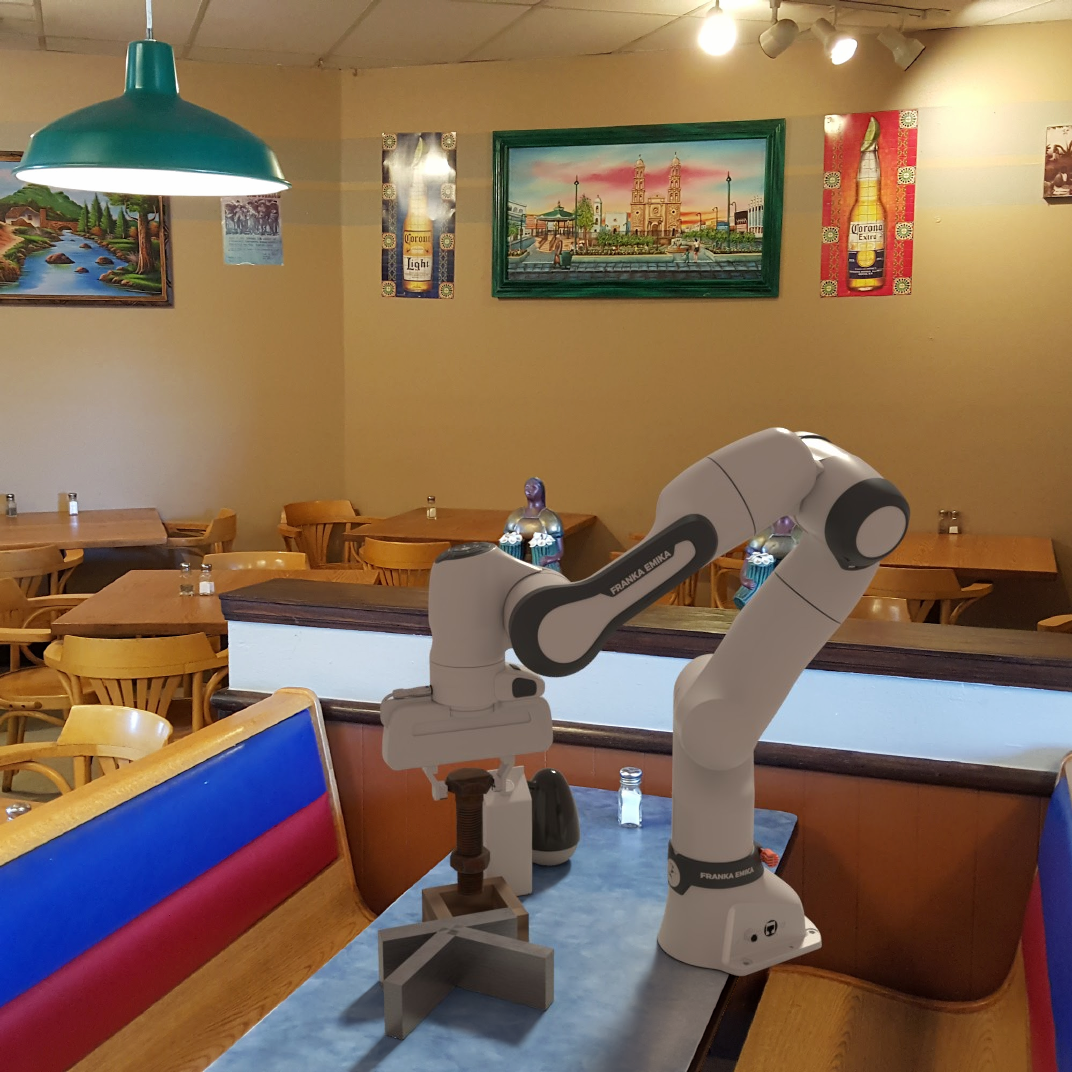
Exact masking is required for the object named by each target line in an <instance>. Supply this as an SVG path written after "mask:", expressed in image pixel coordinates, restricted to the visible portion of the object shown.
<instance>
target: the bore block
mask: <svg viewBox="0 0 1072 1072" xmlns="http://www.w3.org/2000/svg"><path fill="white" fill-rule="evenodd" d="M457 883H458V882H457ZM457 883H451V884H444V885H439V886H432V887H426V888H422V889H421V917H422V922H427V921H433V920H439V919H445V918H450V917H456V916H462V915H468V914H473V913H479V912H485V911H491V910H496V909H502V908H508V907H510V908H511V909H512V910H513V912H514V913H515V915H516V916H517V940H521V941H525V942H529V943H530V913H529V912H528V911H527V910H526V908H525V906H524V905H523V904H522V902H521V900H520V899H519V897H518V896H516V895H515V894H514V892H513V891H512V890H511V888H510V887H509V885H508V884H507V883H506V881H505V880H504V878H503V877H502V876H499V877H492V878H486V879H484V888H483V889H484V891H483V892H482V894H481V895H480V896H477V897H472V898H468V897H463V896H461V895H459V894H458V892H457V891H458V890H457Z"/></svg>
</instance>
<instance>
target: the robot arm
mask: <svg viewBox="0 0 1072 1072" xmlns="http://www.w3.org/2000/svg"><path fill="white" fill-rule="evenodd" d="M655 509H656V510H655V520H654V521H653V522H654V523H653V525H652V527H651V529H650V531H649V532H648V534H647V535H646V536H645V537H644V538H643V539H641V541H640V542H638V543H637V544H636V545H634V546H632V547H631V548H630V549H628V550H626V551H625V552H623V553H622V554H621V555H619V556H618V557H617V558H615V559H613V560H612V561H611V562H609V563H608V564H606V565H605V566H603V567H602V568H600V569H599V570H597V571H596V572H594V573H593V574H592V575H590V576H588V577H586V578H584V579H581V580H577V581H573V582H571V581H570V580H569V579H568V578H567V577H566V576H564V574H562V573H561V572H558V571H557V570H555V569H553V568H548V567H544V566H541V565H536V564H534V563H533V564H532V563H529V562H527V561H524V560H521V559H519V558H516V557H515V556H513V555H511V554H509V553H508V552H506V551H504V550H503V549H501V548H499V547H498V545H496V544H495V543H492V542H487V541H480V542H477V541H476V542H467V543H463V544H459V545H454V546H452V547H450V548H448V549H445V550H444V551H442V552H441V553H440V554H439V555H438V556H437V557H436V558H435V560H434V562H433V563H432V567H431V570H430V576H429V584H428V609H427V610H428V624H429V628H430V631H431V636H432V640H431V641H432V642H431V647H430V650H429V663H428V665H429V685H422V686H415V687H410V688H403V687H402V688H396V689H393V690H392V692H391V693H389V694H387V695H385V696H384V698H383V699H382V700H381V702H380V707H379V712H380V715H379V717H380V721H381V724H382V725H383V732H382V740H381V741H382V742H381V743H382V744H381V754H382V758H383V760H384V763H386V765H387V766H388V767H389V768H391V770H393V771H403V770H410V769H420V768H421V770H422V771H423V772H424V775H426V778H427V779H428V780H429V782H430V783H431V795H432V798H433V800H434V801H441V800H442V801H443V800H447V799H448V795H449V794H448V787H447V785H446V784H445V780H437V778H436V777H435V775H437V774H438V773H439V766H441V765H450V764H458V763H464V762H465V763H466V762H474V761H481V760H487V759H488V760H489V759H490V760H491V759H497V758H499V760H500V761H501V763H500V765H499V767H498V768H497V769H498V771H497V773H495V774H491V775H492V776H493V785H492V786H491V790H493V792H501V791H506V778H507V777H508V775H509V773H510V771H511V770H512V768H513V767H515V764H516V756H518V755H520V756H521V755H527V754H535V753H536V754H537V753H543V752H547V751H548V750H549V749H550V747H551V745H552V744H553V742H554V728H553V719H552V711H551V707H550V706H551V705H550V704H549V702H548V700H547V699H546V698H545V697H544V696H543V695H544V694H545V692H546V683H545V680H544V679H543V677H547V678H564V677H568V676H571V675H575V674H576V673H579V672H580V671H582V670H584V669H585V668H586V667H587V666H589V665H590V664H591V663H592V662H593V661H594V660H595V659H596V658H597V656H598V655H599V653H600V652H601V651H602V649H603V648H604V647H605V645H606V643H607V642H608V640H609V639H610V638H611V637H612V636H613V635H614V634H615V632H616V631H618V630H619V629H620V628H621V627H622V626H623V625H625V624H626V623H628V622H629V621H631V620H632V619H633V618H634V617H637V615H639V614H640V613H641V612H643V611H645V610H646V609H647V608H649V607H650V606H651V605H653V604H654V603H656V602H657V601H658V600H659V601H660V599H662V598H663V597H664V596H665V595H667V594H669V593H670V592H671V591H673V590H674V589H676V588H677V587H679V586H680V585H681V584H682V583H684V582H686V581H687V580H688V579H689V578H691V577H692V576H693V575H694V574H696V573H697V572H698V571H700V570H702V569H703V568H705V566H708V565H709V564H711V562H713V561H715V560H717V559H718V558H720V557H722V556H724V555H725V554H727V553H728V552H730V551H732V550H733V549H735V548H737V547H739V546H740V545H742V544H744V543H745V542H746V541H748V540H750V539H752V538H754V537H755V536H756V535H757V534H759V533H762V532H763V531H764V530H766V529H767V528H768V527H770V526H772V525H773V524H775V523H776V522H778V520H780V519H782V518H785V517H788V518H789V519H790V520H791V521H792V522H793V523H794V524H795V525H796V526H797V527H798V528H800V529H801V530H802V533H801V536H800V538H799V539H800V540H799V542H798V543H797V544H796V545H795V546H794V547H793V548H792V549H791V550H790V551H789V552H788V553H787V554H786V556H784V558H783V559H781V561H780V562H779V563H778V565H776V567H775V568H774V569H773V571H772V572H771V573H770V574H769V576H767V578H766V579H765V580H764V582H763V583H762V584H761V585H760V586H759V587H758V588H757V590H756V592H754V594H753V595H752V597H750V599H749V600H748V601H747V603H746V604H745V605H744V606H743V607H742V609H740V612H738V614H737V615H735V618H734V620H733V622H732V624H731V626H730V627H729V629H728V630H727V632H726V634H725V636H724V637H723V638H722V641H721V642H720V643H719V645H718V646H717V648H716V650H715V651H714V653H707V654H703V655H699V656H697V657H695V658H693V659H692V660H691V661H689V662H688V663H687V664H686V665H685V666H684V667H683V668H682V670H681V671H680V672H679V674H678V676H677V677H676V680H675V683H674V687H673V694H672V695H673V696H672V698H673V701H672V703H673V704H672V771H671V772H672V773H671V774H672V776H671V777H672V780H671V783H672V785H671V787H672V788H671V826H670V827H671V832H670V833H671V835H670V837H671V838H670V839H669V841H668V843H667V844H668V845H667V846H668V847H667V862H666V872H667V874H666V875H667V884H668V888H667V889H668V890H667V896H666V902H665V909H664V912H663V917H662V921H661V924H660V927H659V929H658V930H659V931H658V933H657V942H658V944H659V946H660V947H661V949H662V950H663V951H664V952H666V954H667V955H669V956H670V957H672V958H674V959H676V960H678V961H681V962H683V963H686V964H688V965H692V966H696V967H701V968H707V969H712V970H713V969H715V970H718V971H722V972H725V973H728V974H731V975H733V976H738V977H744V976H747V975H750V974H753V973H756V972H758V971H762V970H764V969H768V968H770V967H772V966H776V965H778V964H781V963H784V962H786V961H789V960H791V959H794V958H798V957H800V956H803V955H806V954H808V953H810V952H814V951H816V950H819V949H821V948H822V936H821V933H820V931H819V929H818V928H817V927H816V925H815V924H814V923H813V922H812V921H811V920H810V919H809V918H808V917H807V916H806V915H805V911H804V907H803V903H802V901H801V899H800V896H799V895H798V893H797V892H796V891H795V890H794V889H793V888H792V886H791V885H789V884H788V883H786V881H784V880H783V879H781V877H779V876H778V875H777V874H775V873H773V871H771V870H769V869H768V868H771V869H773V868H775V867H777V866H778V864H779V863H780V856H779V855H778V854H777V853H776V852H774V851H773V850H771V849H770V848H765V849H764V848H763V846H762V844H760V843H759V842H757V841H756V840H754V827H755V826H754V823H755V820H754V819H755V794H756V793H755V773H754V772H755V768H754V765H755V763H754V761H755V760H754V758H755V757H754V753H755V752H754V750H755V749H756V746H757V744H758V742H759V740H760V739H761V736H762V735H763V734H764V732H765V731H766V729H767V728H768V726H769V725H770V724H771V723H772V720H773V719H774V718H775V716H776V714H777V713H778V711H779V710H780V708H781V707H782V706H783V703H784V702H785V700H787V699H786V698H787V697H788V695H789V694H790V692H791V691H792V689H793V687H794V685H795V683H796V682H797V681H798V679H799V677H800V676H801V675H802V674H803V672H804V671H805V669H806V668H807V666H808V665H809V663H811V661H813V659H814V658H815V657H816V656H817V654H818V653H819V652H820V650H821V649H822V648H823V647H824V646H825V645H826V643H827V642H828V641H829V640H830V639H831V637H832V636H833V635H834V634H835V633H836V632H837V630H838V629H839V628H840V627H841V625H842V624H843V623H844V622H845V620H846V619H847V618H848V616H849V615H851V613H852V612H853V610H854V609H855V607H856V606H857V604H858V603H859V602H860V600H861V599H862V597H863V595H864V594H865V593H866V591H867V590H868V588H869V586H870V584H871V582H872V580H873V579H874V577H875V575H876V573H877V571H878V570H879V567H880V564H881V561H883V560H885V558H887V557H888V556H890V555H891V554H892V553H893V552H894V551H895V550H896V549H897V548H898V547H899V546H900V544H901V543H902V541H903V540H904V539H905V536H906V534H907V532H908V530H909V529H908V528H909V524H910V519H911V518H910V517H911V508H910V505H909V502H908V501H907V499H906V497H905V496H904V494H903V493H902V492H901V490H900V489H899V488H898V487H897V486H896V485H895V484H894V483H893V482H891V480H888V479H886V478H884V477H883V476H882V475H881V474H880V473H879V472H878V471H877V470H876V469H874V468H873V467H872V466H871V465H870V464H869V463H867V462H866V461H864V459H861V458H860V457H859V456H857V455H854V454H852V453H850V452H848V451H847V450H845V449H843V448H842V447H839V446H838V445H836V444H834V443H833V442H832V441H831V440H829V439H828V437H827V438H826V437H825V436H822V435H820V434H817V433H814V432H807V431H794V432H793V431H792V430H789V429H787V428H784V427H769V428H766V429H763V430H760V431H757V432H754V433H752V434H748V435H747V436H744V437H742V438H740V439H738V440H735V441H733V442H731V443H729V444H727V445H725V446H723V447H721V448H719V449H717V450H716V451H713V452H712V453H709V454H708V455H706V456H705V457H703V458H701V459H699V460H698V461H697V462H695V463H693V464H691V465H690V466H688V468H686V469H684V470H683V471H682V472H681V473H680V474H678V475H677V476H676V477H675V478H673V479H672V480H670V482H669V483H668V484H667V485H666V486H665V487H664V488H662V490H661V491H660V494H659V496H658V499H657V504H656V508H655ZM509 649H512V650H513V652H514V654H515V656H516V658H517V659H518V661H519V662H520V663H521V664H518V663H514V662H508V661H506V651H508V650H509ZM541 676H542V677H541ZM763 863H764V864H765V865H766V866H767V867H768V868H766V867H765V866H764V864H763Z"/></svg>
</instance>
